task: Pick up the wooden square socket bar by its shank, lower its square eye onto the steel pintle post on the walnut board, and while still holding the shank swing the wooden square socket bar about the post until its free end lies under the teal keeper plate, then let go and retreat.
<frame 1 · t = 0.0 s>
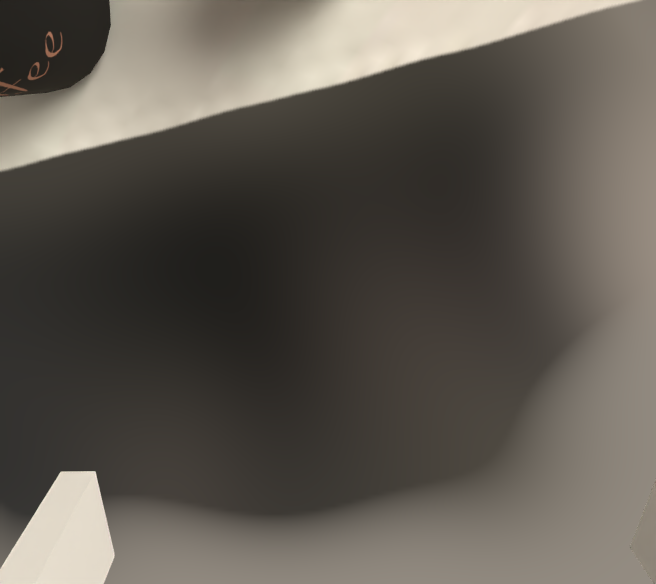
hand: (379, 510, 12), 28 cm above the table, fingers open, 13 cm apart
coffee jar: (33, 1, 31), on the table
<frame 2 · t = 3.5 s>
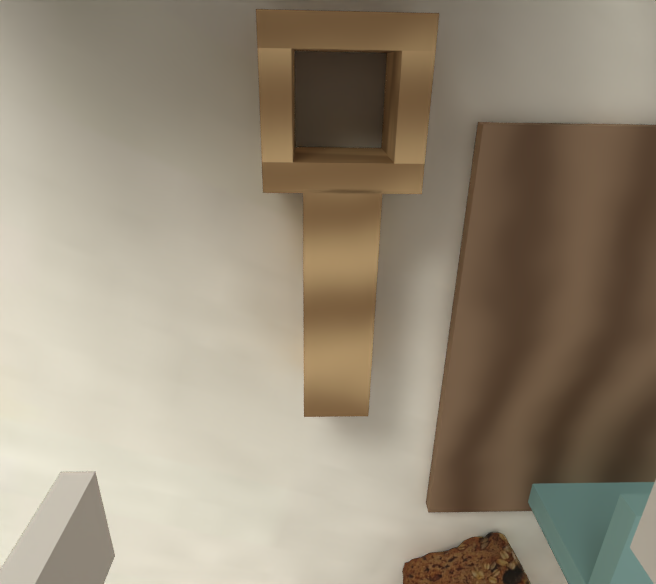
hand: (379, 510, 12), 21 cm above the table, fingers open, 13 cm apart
wooden square socket bar: (332, 371, 35), on the table
pintle board: (586, 346, 35), on the table
keeper: (609, 444, 39), resting on pintle board
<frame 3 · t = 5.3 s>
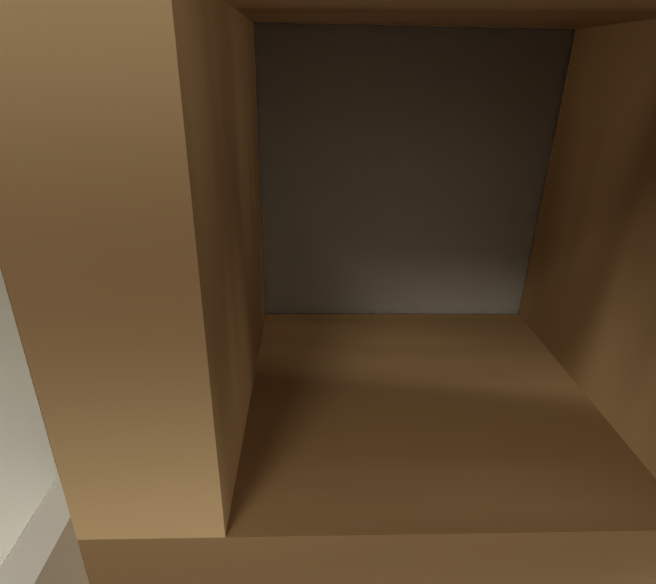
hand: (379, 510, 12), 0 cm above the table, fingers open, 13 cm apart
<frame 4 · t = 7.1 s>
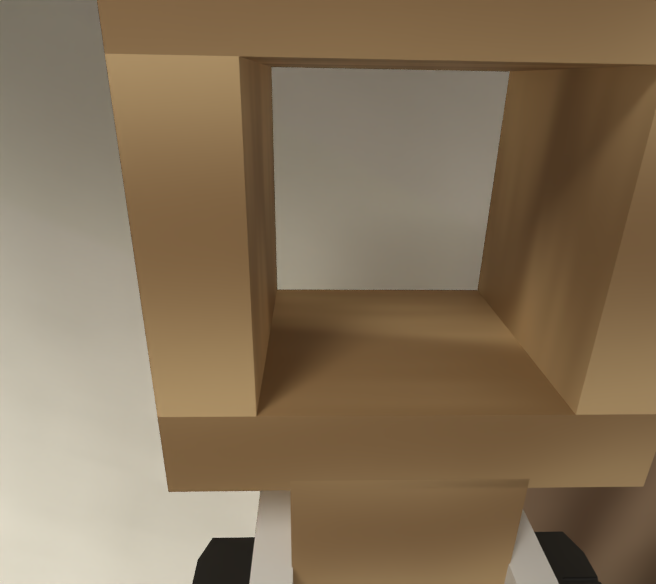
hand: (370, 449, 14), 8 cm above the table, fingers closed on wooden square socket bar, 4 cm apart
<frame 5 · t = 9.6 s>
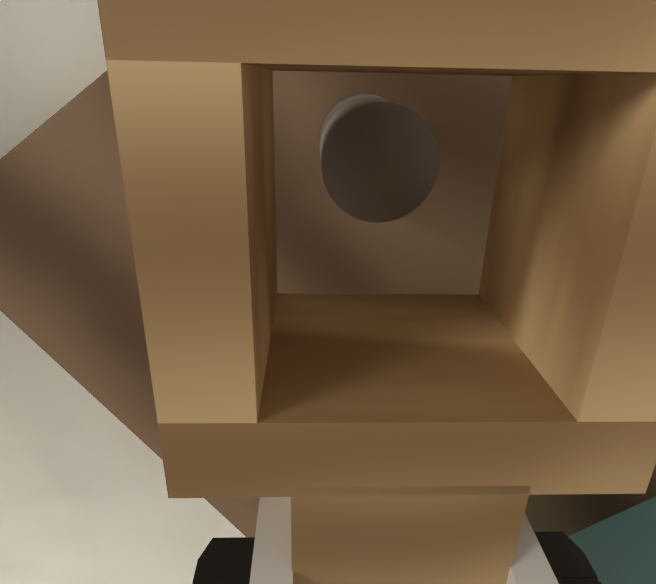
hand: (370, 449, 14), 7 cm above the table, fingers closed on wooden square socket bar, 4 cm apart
pintle board: (394, 376, 21), on the table
keeper: (565, 466, 23), resting on pintle board
when the fingers open (2 cm above the table, at t = 12.4 s): wooden square socket bar stays where it is, resting on pintle board.
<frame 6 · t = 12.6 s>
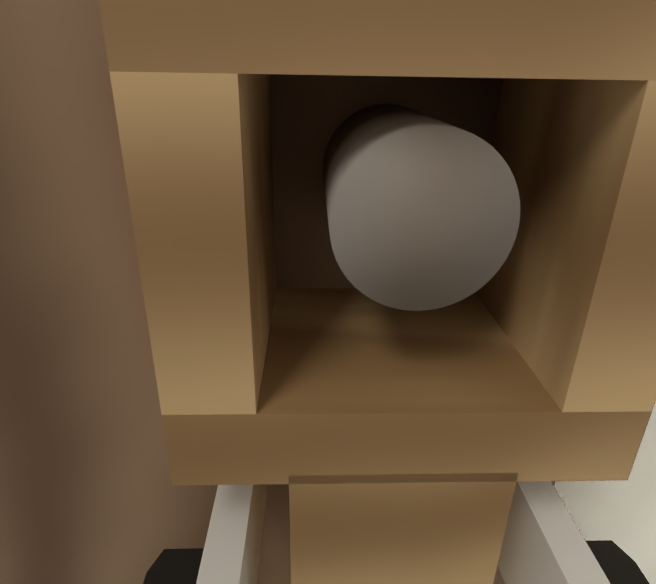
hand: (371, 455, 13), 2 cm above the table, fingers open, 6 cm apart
pintle board: (237, 446, 16), on the table
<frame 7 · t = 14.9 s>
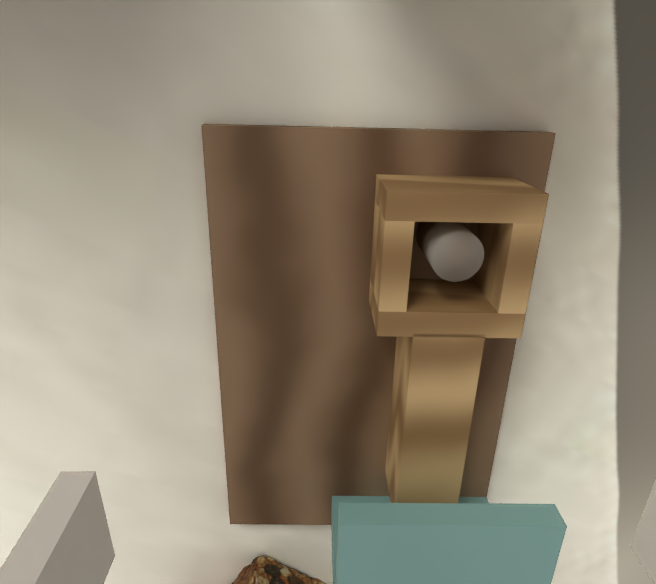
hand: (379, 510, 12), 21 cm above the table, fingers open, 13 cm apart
wooden square socket bar: (411, 471, 37), point 1 cm above the table, touching pintle board
pintle board: (364, 353, 34), on the table
keeper: (410, 456, 38), resting on pintle board
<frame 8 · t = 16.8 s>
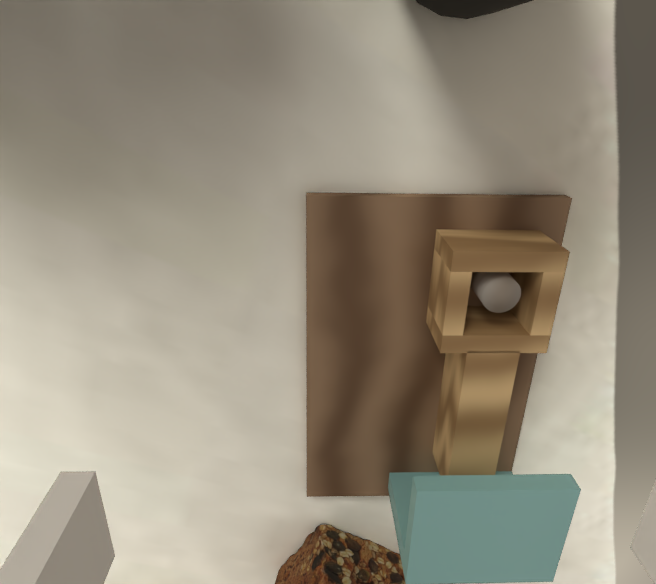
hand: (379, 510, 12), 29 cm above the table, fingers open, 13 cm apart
wooden square socket bar: (453, 451, 47), point 1 cm above the table, touching pintle board
pintle board: (419, 361, 44), on the table
bread: (364, 571, 56), on the table
keeper: (451, 440, 48), resting on pintle board
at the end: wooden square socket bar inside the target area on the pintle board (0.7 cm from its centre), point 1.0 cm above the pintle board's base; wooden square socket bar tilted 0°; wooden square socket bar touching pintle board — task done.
